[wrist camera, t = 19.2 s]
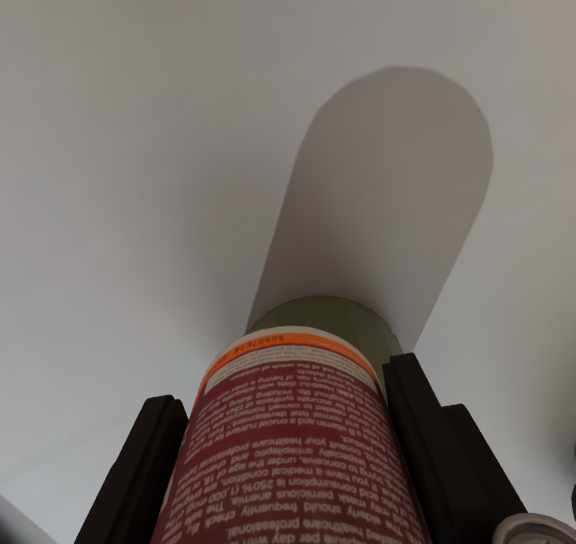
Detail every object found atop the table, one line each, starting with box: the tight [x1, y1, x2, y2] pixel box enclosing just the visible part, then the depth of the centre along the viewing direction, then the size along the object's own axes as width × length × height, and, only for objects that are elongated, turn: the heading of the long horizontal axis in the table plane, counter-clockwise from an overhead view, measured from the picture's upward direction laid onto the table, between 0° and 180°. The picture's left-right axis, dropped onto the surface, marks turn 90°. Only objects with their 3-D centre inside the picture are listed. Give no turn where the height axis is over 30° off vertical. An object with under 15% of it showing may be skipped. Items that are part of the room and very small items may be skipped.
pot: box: [249, 296, 404, 406], centre depth 25 cm, size 12×12×10 cm
